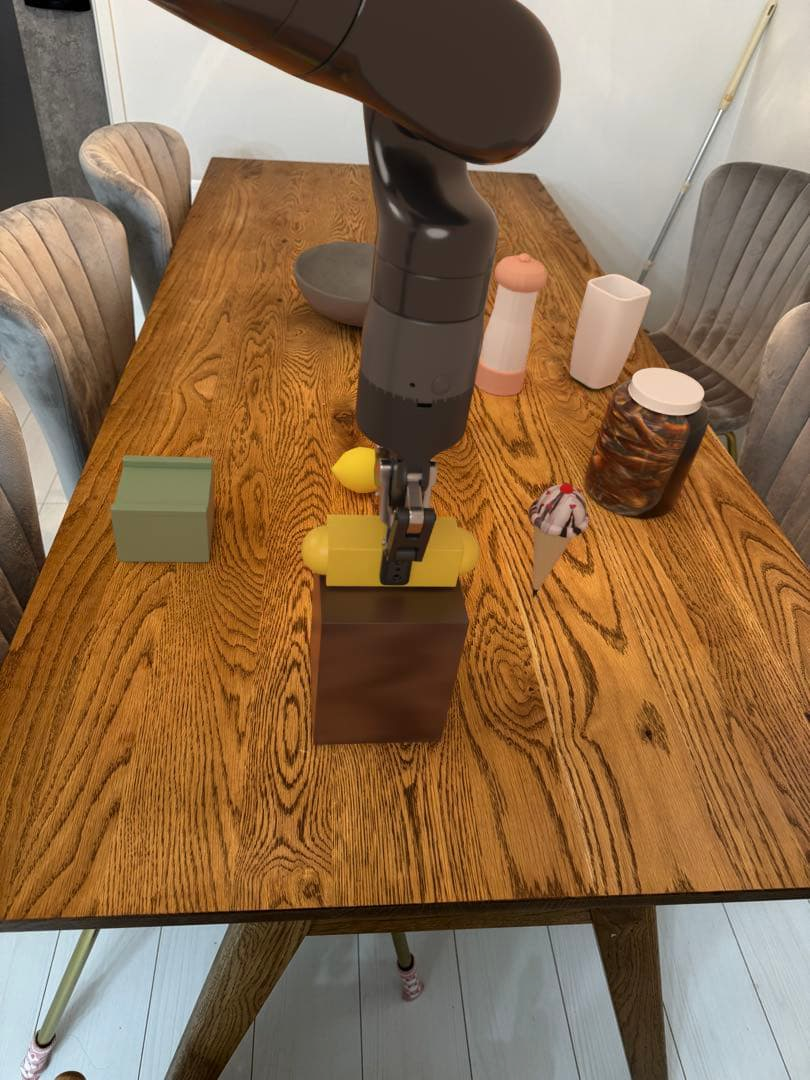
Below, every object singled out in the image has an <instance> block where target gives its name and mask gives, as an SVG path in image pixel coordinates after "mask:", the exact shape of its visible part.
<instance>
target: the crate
mask: <svg viewBox="0 0 810 1080" xmlns="http://www.w3.org/2000/svg"><path fill="white" fill-rule="evenodd" d="M321 525H322V524H320V525H319V524H318V525H316V527H318V526H321ZM312 583H313V585H312V600H311V601H312V602H311V617H310V618H311V621H310V639H309V663H310V691H311V692H310V694H311V724H312V726H311V727H312V745H313V746H325V745H326V746H328V745H329V746H330V745H364V744H366V745H367V744H400V743H401V744H403V743H436V742H437V743H438V742H439V743H440V742H442V738H443V734H444V730H445V725H446V722H447V718H448V714H449V710H450V705H451V700H452V697H453V694H454V693H453V692H454V688H455V685H456V681H457V676H458V673H459V669H460V664H461V660H462V656H463V651H464V647H465V644H466V639H467V634H468V632H469V627H470V618H469V613H468V610H467V606H466V602H465V598H464V593H463V588H462V584H461V579H460V576H458V579H457V583H456V586H455V587H417V586H327V585H326V575H321V574H317V573H315V572H313V582H312Z"/></svg>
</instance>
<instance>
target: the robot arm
mask: <svg viewBox="0 0 810 1080" xmlns="http://www.w3.org/2000/svg"><path fill="white" fill-rule="evenodd" d="M147 1H148V2H150V3H151V4H154V5H155V6H157V7H159V8H160V9H163V10H164V11H166V12H168V13H169V14H171V15H173V16H175V17H176V18H178V19H181V20H182V21H184V22H186V23H188V24H189V25H191V26H193V27H195V28H196V29H199V30H201V31H203V32H205V33H207V34H208V35H210V36H212V37H214V38H216V39H218V40H220V41H221V42H223V43H226V44H228V45H230V46H232V47H233V48H235V49H237V50H240V51H241V52H243V53H246V54H247V55H249V56H251V57H253V58H255V59H258V60H260V61H261V62H264V63H266V64H267V65H269V66H271V67H273V68H275V69H277V70H280V71H282V72H284V73H286V74H288V75H290V76H292V77H294V78H297V79H299V80H301V81H303V82H306V83H308V84H311V85H314V86H317V87H320V88H323V89H326V90H328V91H331V92H334V93H336V94H339V95H343V96H345V97H348V98H350V99H354V101H355V100H356V101H358V102H360V103H362V115H363V117H362V118H363V125H364V135H365V142H366V150H367V160H368V169H369V177H370V185H371V190H372V195H373V201H374V206H375V212H376V231H375V238H374V244H375V246H374V256H373V267H372V278H371V290H370V296H369V302H368V306H367V310H366V314H365V318H364V323H363V327H362V331H361V332H362V333H361V341H360V342H361V343H360V355H359V365H358V374H357V375H358V376H357V386H356V387H357V388H356V398H355V399H356V400H355V409H354V418H355V423H356V426H357V428H358V429H359V431H360V432H361V434H362V435H363V436H364V437H365V438H366V439H367V440H369V441H370V442H371V443H373V444H374V448H373V449H375V465H374V483H375V485H376V486H377V490H376V491H375V492H374V498H376V503H377V507H376V514H375V515H379V516H380V520H381V521H382V522H383V523H384V534H383V539H382V546H383V549H382V557H381V565H380V573H379V578H380V583H381V584H382V585H388V586H403V585H406V584H407V583H408V582H409V578H410V572H411V566H412V561H415V562H422V560H423V557H424V554H425V551H426V548H427V545H428V542H429V539H430V536H431V533H432V530H433V527H434V524H435V521H436V518H437V516H438V515H437V513H436V509H435V507H431V498H432V497H431V496H432V489H433V487H434V486H435V485H436V483H437V474H438V461H437V459H433V458H434V457H435V456H437V455H439V454H441V453H442V452H445V451H447V450H450V449H451V448H453V447H454V446H456V445H457V444H459V442H460V441H461V440H462V439H463V437H464V436H465V433H466V430H467V425H468V421H469V420H468V419H469V415H470V409H471V406H472V405H471V404H472V400H473V395H474V390H475V386H476V385H475V380H476V374H477V369H478V364H479V359H480V354H481V352H482V345H483V339H484V333H485V329H484V328H485V313H486V305H487V300H488V295H489V289H490V283H491V280H492V279H491V278H492V275H493V274H492V273H493V268H494V265H495V260H496V254H497V250H498V249H497V248H498V242H499V223H498V219H497V216H496V213H495V211H494V210H493V208H492V207H491V206H490V204H489V203H488V202H487V201H486V200H485V199H484V197H483V196H481V194H480V193H479V192H478V191H477V189H476V188H475V187H474V185H473V183H472V180H471V178H470V175H469V171H468V170H469V169H468V164H472V165H478V166H495V165H501V164H504V163H509V162H511V161H513V160H515V159H518V158H519V157H521V156H523V155H524V154H525V153H527V152H529V151H530V150H531V149H532V148H533V147H534V146H535V145H537V144H538V142H539V141H540V140H541V139H542V138H543V136H545V134H546V133H547V131H548V130H549V128H550V127H551V124H552V122H553V120H554V118H555V115H556V113H557V110H558V106H559V103H560V99H561V91H562V70H561V61H560V58H559V54H558V50H557V47H556V45H555V42H554V40H553V37H552V36H551V34H550V32H549V31H548V29H547V28H546V25H544V23H543V22H542V20H541V19H540V18H539V17H538V16H537V15H536V14H535V13H534V12H533V11H532V10H531V9H529V8H528V7H527V6H525V5H524V3H522V2H521V1H519V0H147Z"/></svg>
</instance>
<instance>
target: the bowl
mask: <svg viewBox="0 0 810 1080" xmlns="http://www.w3.org/2000/svg"><path fill="white" fill-rule="evenodd" d="M374 246H375V243H369V242H358V241H346V240H345V241H332V242H326V243H322V244H318V245H314V246H311V247H309V248H307V249H305V250H303V251H302V252H301V253H300V254H298V256H297V257H296V258H295V260H294V263H293V265H292V267H293V268H292V269H293V270H292V272H293V277H294V281H295V283H296V285H297V287H298V290H299V291H300V293H301V295H302V297H304V299H305V301H306V302H307V303H308V304H309V305H310V306H311V308H313V309H314V310H315V311H316V312H317V313H319V314H320V315H322V316H323V317H325V318H328V319H329V320H330V321H331V320H332V321H333V322H337V323H339V324H342V325H346V326H353V327H358V328H363V323H364V318H365V314H366V310H367V306H368V302H369V296H370V290H371V278H372V267H373V256H374Z"/></svg>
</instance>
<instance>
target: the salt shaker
mask: <svg viewBox="0 0 810 1080" xmlns="http://www.w3.org/2000/svg"><path fill="white" fill-rule="evenodd" d="M494 277H495V280H496V282H497V289H496V294H495V300H494V304H493V309H492V312H491V314H490V317H489V320H488V323H487V326H486V328H485V330H484V333H483V342H482V349H481V354H480V359H479V364H478V369H477V374H476V380H475V385H474V386H476V387H477V388H478V389H479V390H482V391H483V392H484V393H488V394H490V395H494V396H499V397H502V396H503V397H508V396H515V395H517V394H519V393H520V392H521V391H522V390H523V387H524V383H525V378H526V374H527V370H528V363H527V358H528V356H529V351H530V348H531V341H532V326H533V316H534V312H535V307H536V303H537V298H538V294H539V291H541V290H542V289H543V288H544V286H546V284H547V282H548V271H547V269H546V266H544V264H543V263H542V262H540V261H539V260H537V259H535V258H533V257H531V255H530V254H529V253H526V252H524V253H520V254H518V255H509V256H505V257H503V258H502V259H501V260H499V262H498V263H497V264H496V267H495V269H494Z"/></svg>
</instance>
